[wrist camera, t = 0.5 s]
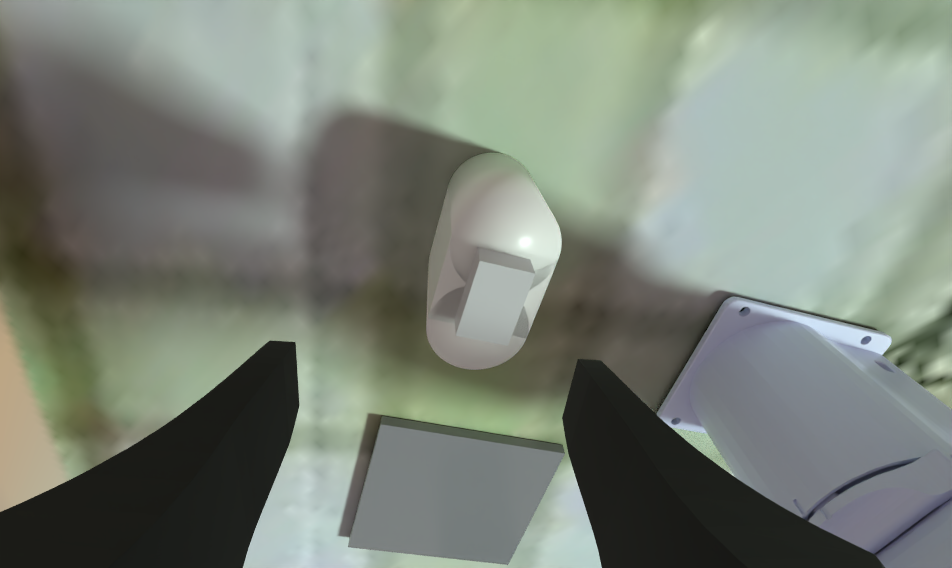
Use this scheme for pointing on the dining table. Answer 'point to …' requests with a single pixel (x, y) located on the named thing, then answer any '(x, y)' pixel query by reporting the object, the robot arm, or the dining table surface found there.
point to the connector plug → (489, 262)
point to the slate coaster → (450, 491)
